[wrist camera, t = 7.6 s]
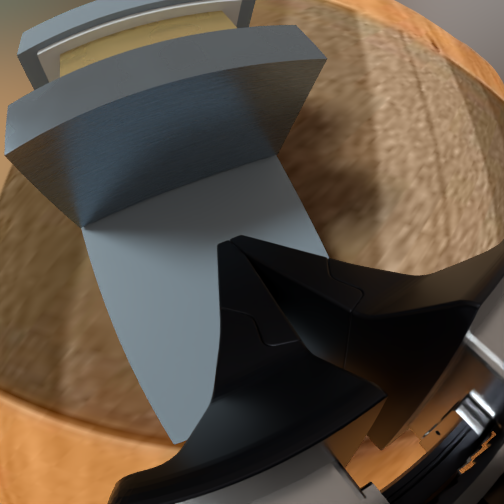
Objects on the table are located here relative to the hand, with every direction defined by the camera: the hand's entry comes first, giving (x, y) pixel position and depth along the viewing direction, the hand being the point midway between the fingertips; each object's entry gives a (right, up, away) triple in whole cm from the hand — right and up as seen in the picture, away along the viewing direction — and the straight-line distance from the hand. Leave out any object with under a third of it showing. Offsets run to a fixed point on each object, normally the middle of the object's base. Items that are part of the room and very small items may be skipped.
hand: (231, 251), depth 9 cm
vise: (-3, +2, +8) cm, 9 cm away
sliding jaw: (-4, +5, +6) cm, 9 cm away
